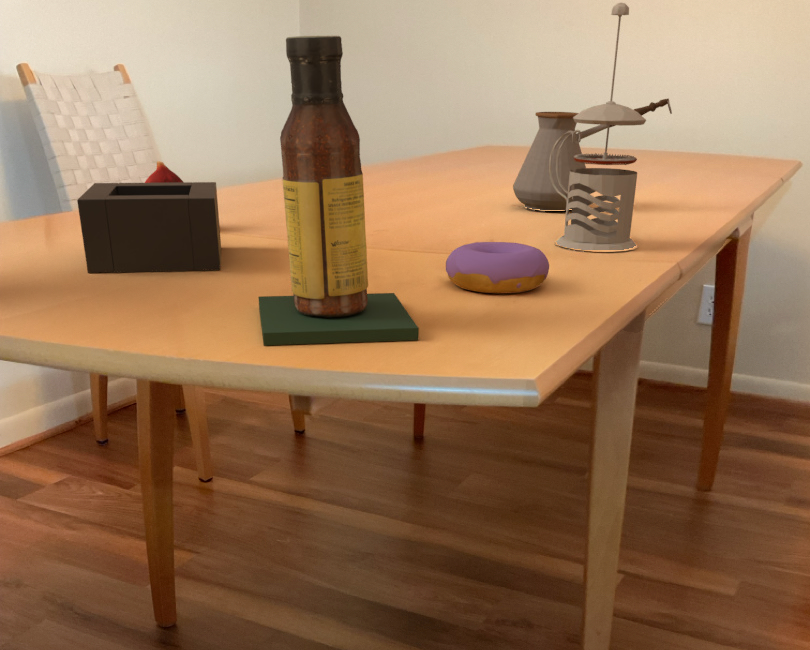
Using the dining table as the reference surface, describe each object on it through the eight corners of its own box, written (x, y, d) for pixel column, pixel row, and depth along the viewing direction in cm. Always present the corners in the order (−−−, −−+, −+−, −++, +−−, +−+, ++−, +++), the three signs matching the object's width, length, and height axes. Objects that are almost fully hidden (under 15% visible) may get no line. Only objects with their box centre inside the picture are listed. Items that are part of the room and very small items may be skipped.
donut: (532, 270, 94) (539, 223, 91) (556, 310, 87) (564, 261, 84) (436, 271, 92) (439, 224, 89) (452, 313, 85) (456, 263, 82)
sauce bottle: (370, 302, 78) (369, 36, 69) (365, 321, 72) (362, 35, 63) (294, 301, 78) (282, 35, 69) (283, 319, 73) (268, 34, 63)
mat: (263, 345, 70) (262, 332, 69) (259, 307, 80) (258, 296, 80) (418, 340, 71) (418, 327, 71) (394, 303, 82) (394, 292, 81)
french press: (615, 256, 103) (645, -2, 91) (526, 243, 109) (543, 1, 98) (651, 244, 110) (683, 3, 98) (565, 233, 116) (586, 5, 105)
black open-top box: (87, 273, 92) (76, 199, 89) (103, 249, 103) (94, 183, 100) (220, 270, 94) (214, 198, 91) (221, 246, 105) (216, 182, 102)
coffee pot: (508, 212, 131) (515, 96, 124) (514, 201, 141) (521, 93, 134) (661, 218, 128) (677, 100, 121) (655, 207, 138) (670, 97, 131)
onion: (195, 226, 118) (189, 159, 114) (189, 233, 113) (182, 164, 109) (149, 226, 117) (142, 158, 114) (141, 233, 112) (132, 163, 109)
